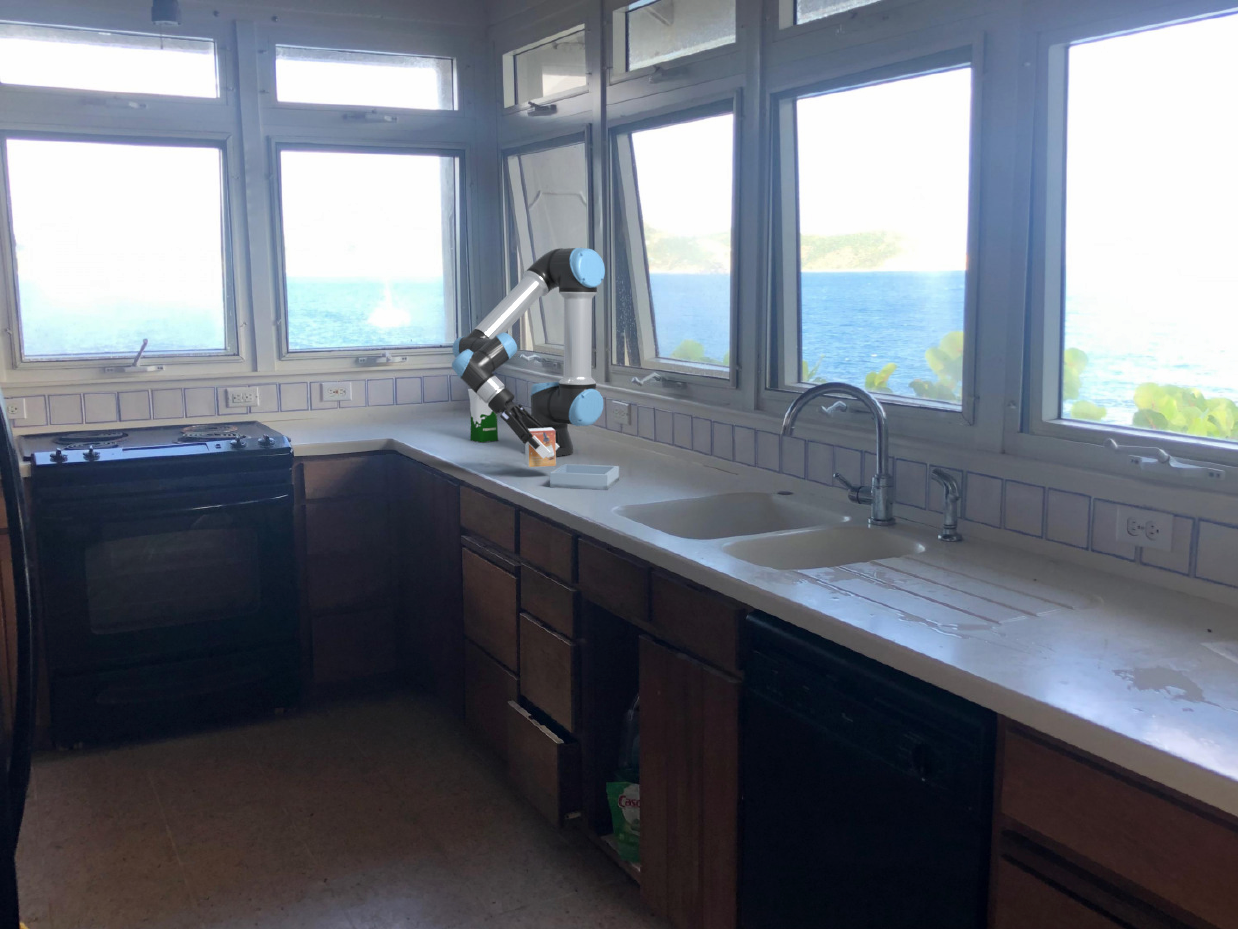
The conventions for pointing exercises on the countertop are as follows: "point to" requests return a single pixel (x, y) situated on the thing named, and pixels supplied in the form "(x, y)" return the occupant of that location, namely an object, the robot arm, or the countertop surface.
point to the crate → (584, 476)
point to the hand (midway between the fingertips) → (551, 452)
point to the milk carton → (482, 420)
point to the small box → (548, 441)
